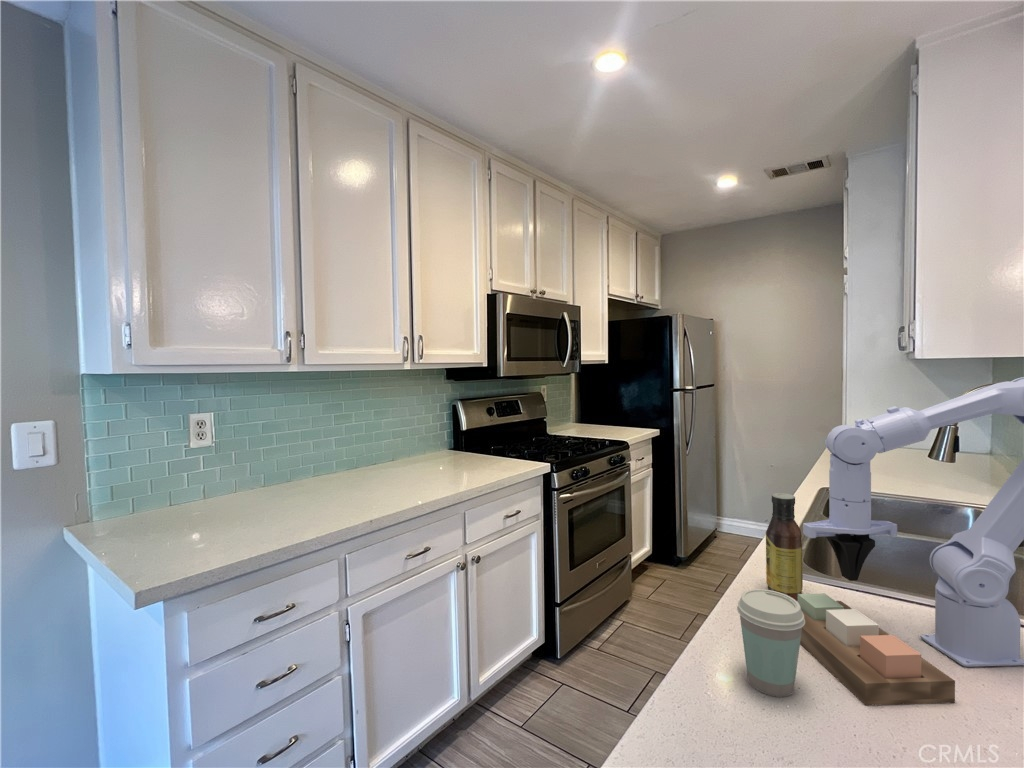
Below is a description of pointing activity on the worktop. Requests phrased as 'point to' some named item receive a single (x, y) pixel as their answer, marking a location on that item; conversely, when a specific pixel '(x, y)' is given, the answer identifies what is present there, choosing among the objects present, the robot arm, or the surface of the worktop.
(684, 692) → the worktop surface
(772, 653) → the coffee cup
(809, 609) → the sage green button
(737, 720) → the worktop surface
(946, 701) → the walnut button board
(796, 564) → the sauce bottle
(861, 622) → the cream button
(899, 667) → the terracotta button
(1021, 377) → the robot arm
